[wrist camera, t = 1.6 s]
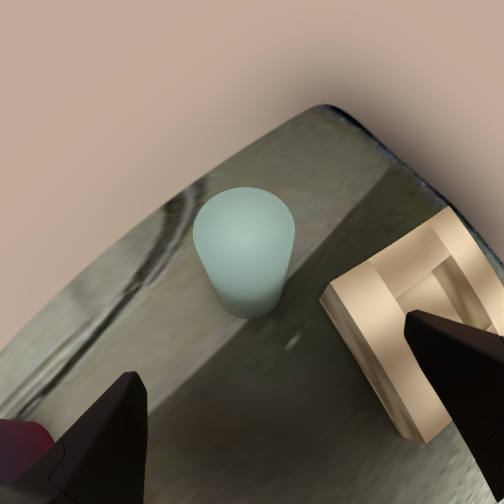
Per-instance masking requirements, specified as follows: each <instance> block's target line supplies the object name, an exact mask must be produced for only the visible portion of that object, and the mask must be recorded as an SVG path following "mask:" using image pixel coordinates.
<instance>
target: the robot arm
mask: <svg viewBox="0 0 504 504" xmlns="http://www.w3.org/2000/svg"><path fill="white" fill-rule="evenodd" d="M404 337H405V340H406V342H407V343H408V345H409V347H410V349H411V351H412V353H413V355H414V357H415V359H416V361H417V363H418V365H419V367H420V369H421V370H422V372H423V374H424V375H425V377H426V378H427V380H428V382H429V383H430V385H431V386H432V388H433V389H434V391H435V392H436V394H437V396H438V397H439V399H440V400H441V402H442V404H443V405H444V407H445V409H446V410H447V412H448V413H449V415H450V417H451V418H452V420H453V422H454V423H455V425H456V427H457V429H458V430H459V432H460V434H461V435H462V437H463V439H464V441H465V442H466V444H467V446H468V448H469V450H470V451H471V453H472V455H473V457H474V458H475V461H476V463H477V464H478V466H479V468H480V470H481V472H482V474H483V476H484V478H485V480H486V482H487V484H488V486H489V487H490V489H491V491H492V494H493V496H494V498H495V500H496V501H497V503H498V502H500V501H501V500H502V499H503V498H504V336H501V335H500V336H499V335H498V334H495V333H492V332H488V331H485V330H482V329H479V328H476V327H472V326H469V325H466V324H463V323H460V322H456V321H453V320H450V319H447V318H444V317H440V316H437V315H434V314H431V313H428V312H425V311H421V310H418V309H416V310H413V311H410V312H408V313H407V314H406V317H405V325H404ZM147 438H148V418H147V391H146V388H145V386H144V384H143V382H142V380H141V379H140V377H139V375H138V373H137V372H135V371H131V372H124V373H123V374H122V375H121V376H120V377H119V378H118V379H117V380H116V381H115V382H114V383H113V384H112V385H111V386H110V387H109V388H108V389H107V390H106V391H105V392H104V393H103V394H102V395H101V396H100V397H99V398H98V399H97V401H96V402H95V403H94V404H93V405H92V406H91V407H90V408H89V409H88V410H87V411H86V412H85V413H84V414H83V415H82V416H81V417H80V418H79V419H78V420H77V421H76V422H75V423H74V424H73V425H72V426H71V427H70V428H69V429H68V430H67V431H66V432H65V433H64V434H63V435H62V437H60V438H59V439H58V440H57V441H56V442H55V443H54V444H53V445H52V446H51V447H50V448H49V449H48V450H47V451H46V452H45V453H44V454H43V455H42V456H41V457H40V458H38V459H37V460H36V461H35V462H34V463H33V464H31V465H30V466H29V467H28V468H27V469H26V470H24V471H23V472H22V473H21V474H20V475H18V476H17V477H16V478H15V479H13V480H12V481H11V482H9V483H7V484H4V485H0V504H143V498H144V478H145V463H146V450H147Z"/></svg>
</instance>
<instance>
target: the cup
mask: <svg viewBox="0 0 504 504" xmlns="http://www.w3.org/2000/svg"><path fill="white" fill-rule="evenodd" d="M53 444H54V442H53V440H52V438H51V436H50V435H49V433H48V432H47V431H46V430H45V429H44V428H43V427H42V426H41V425H39V424H37V423H35V422H28V421H16V420H6V419H0V485H4V484H7V483H9V482H11V481H12V480H13V479H15V478H16V477H17V476H18V475H20V474H21V473H22V472H23V471H24V470H26V469H27V468H28V467H29V466H30V465H31V464H33V463H34V462H35V461H36V460H37V459H38V458H40V457H41V456H42V455H43V454H44V453H45V452H46V451H47V450H48V449H49V448H50V447H51V446H52V445H53Z"/></svg>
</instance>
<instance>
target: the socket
mask: <svg viewBox="0 0 504 504" xmlns="http://www.w3.org/2000/svg"><path fill="white" fill-rule="evenodd" d="M319 301H320V303H321V304H322V306H323V307H324V309H325V311H326V312H327V314H328V315H329V317H330V319H331V320H332V322H333V323H334V325H335V327H336V328H337V330H338V332H339V333H340V335H341V336H342V338H343V340H344V341H345V343H346V345H347V346H348V348H349V349H350V351H351V353H352V354H353V356H354V358H355V359H356V361H357V363H358V364H359V366H360V368H361V369H362V371H363V373H364V374H365V376H366V378H367V379H368V381H369V383H370V384H371V386H372V388H373V389H374V391H375V393H376V395H377V396H378V398H379V400H380V401H381V403H382V405H383V406H384V408H385V410H386V412H387V413H388V415H389V417H390V419H391V420H392V422H393V424H394V425H395V427H396V429H397V431H398V432H399V434H400V436H401V437H403V438H406V439H410V440H413V441H417V442H421V443H424V444H427V443H428V442H429V441H430V440H431V439H432V438H433V437H435V436H436V435H437V434H438V433H439V432H440V431H441V430H442V429H443V428H444V427H445V426H447V425H448V424H449V423H450V422H451V421H452V418H451V417H450V415H449V413H448V412H447V410H446V409H445V407H444V405H443V404H442V402H441V400H440V399H439V397H438V396H437V394H436V392H435V391H434V389H433V388H432V386H431V385H430V383H429V382H428V380H427V378H426V377H425V375H424V374H423V372H422V370H421V369H420V367H419V365H418V363H417V361H416V359H415V357H414V355H413V353H412V351H411V349H410V347H409V345H408V343H407V342H406V340H405V337H404V325H405V317H406V314H407V313H408V312H410V311H413V310H416V309H418V310H421V311H425V312H428V313H431V314H434V315H437V316H440V317H444V318H447V319H450V320H453V321H456V322H460V323H463V324H466V325H469V326H472V327H476V328H479V329H482V330H485V331H488V332H492V333H495V334H498V335H499V336H500V335H501V336H504V287H503V286H502V284H501V282H500V280H499V279H498V277H497V275H496V274H495V272H494V270H493V269H492V267H491V266H490V264H489V262H488V261H487V259H486V258H485V256H484V254H483V253H482V251H481V250H480V248H479V247H478V245H477V244H476V242H475V241H474V240H473V238H472V237H471V235H470V234H469V232H468V231H467V230H466V228H465V227H464V225H463V224H462V223H461V221H460V220H459V219H458V217H457V216H456V215H455V213H454V212H453V211H452V209H451V208H450V207H449V206H448V207H446V208H445V209H443V210H442V211H441V212H439V213H438V214H436V215H435V216H433V217H432V218H430V219H429V220H428V221H426V222H425V223H423V224H422V225H420V226H419V227H417V228H416V229H414V230H413V231H411V232H410V233H408V234H407V235H405V236H404V237H402V238H401V239H399V240H398V241H396V242H395V243H393V244H391V245H390V246H388V247H387V248H385V249H384V250H382V251H381V252H379V253H377V254H376V255H374V256H373V257H371V258H369V259H368V260H366V261H365V262H363V263H361V264H360V265H358V266H357V267H355V268H353V269H352V270H350V271H348V272H347V273H345V274H343V275H342V276H340V277H338V278H337V279H335V280H333V281H332V282H330V283H329V285H328V286H327V288H326V289H325V291H324V292H323V294H322V296H321V297H320V299H319Z"/></svg>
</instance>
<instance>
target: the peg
mask: <svg viewBox="0 0 504 504" xmlns="http://www.w3.org/2000/svg"><path fill="white" fill-rule="evenodd" d="M294 237H295V225H294V221H293V217H292V215H291V213H290V211H289V209H288V208H287V206H286V205H285V204H284V203H283V202H282V201H281V200H280V199H279V198H277V197H276V196H275V195H273V194H271V193H269V192H267V191H264V190H261V189H257V188H250V187H241V188H234V189H230V190H226V191H224V192H221V193H219V194H218V195H216V196H214V197H213V198H211V199H210V200H209V201H208V202H207V203H206V204H205V205H204V206H203V207H202V209H201V210H200V211H199V213H198V215H197V217H196V220H195V223H194V227H193V240H194V244H195V247H196V250H197V252H198V254H199V256H200V259H201V261H202V263H203V265H204V267H205V270H206V272H207V274H208V276H209V278H210V281H211V283H212V285H213V287H214V289H215V291H216V294H217V296H218V298H219V300H220V302H221V304H222V305H223V306H224V308H225V309H226V310H227V311H229V312H230V313H231V314H233V315H235V316H238V317H241V318H246V319H253V318H258V317H262V316H264V315H266V314H268V313H269V312H271V311H272V310H273V309H274V308H275V307H276V305H277V304H278V303H279V301H280V298H281V296H282V292H283V287H284V283H285V278H286V274H287V269H288V265H289V260H290V256H291V251H292V247H293V242H294Z"/></svg>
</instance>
